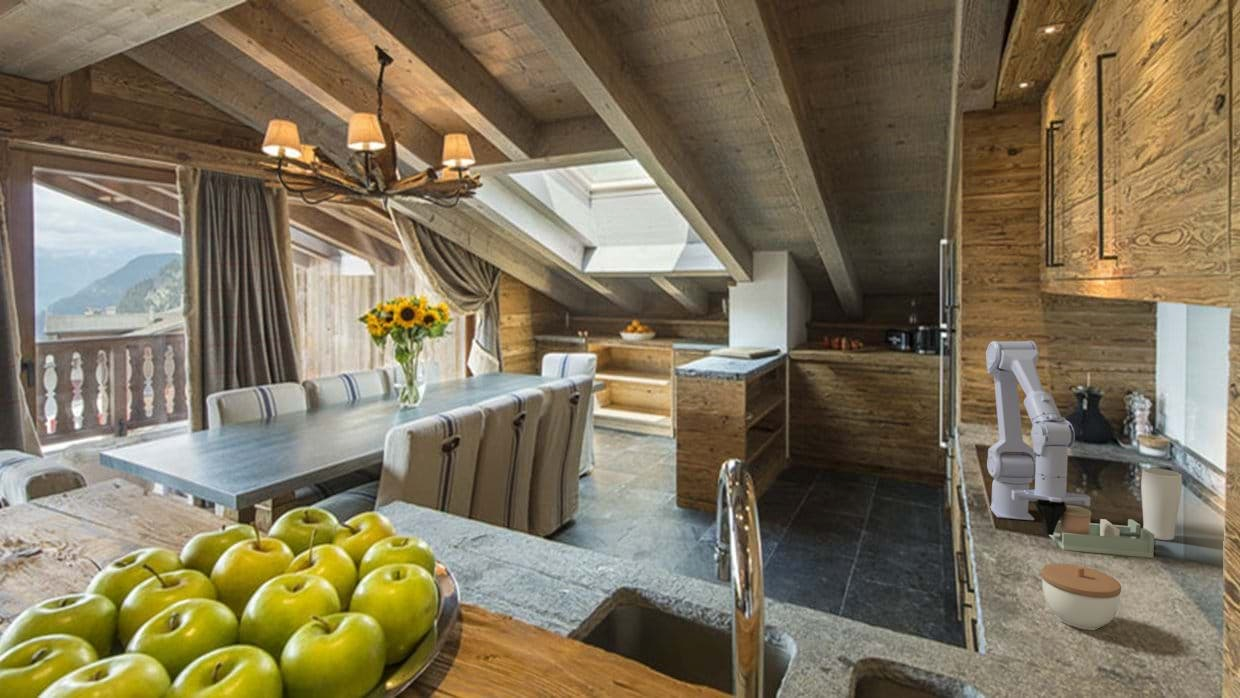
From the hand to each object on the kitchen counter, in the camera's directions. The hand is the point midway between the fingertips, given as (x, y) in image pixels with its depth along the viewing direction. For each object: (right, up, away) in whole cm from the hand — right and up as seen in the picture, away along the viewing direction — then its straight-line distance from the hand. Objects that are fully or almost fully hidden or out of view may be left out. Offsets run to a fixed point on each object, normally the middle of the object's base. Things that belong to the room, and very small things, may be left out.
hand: (1048, 533), depth 135 cm
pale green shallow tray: (+9, -2, -3) cm, 9 cm away
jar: (+5, -1, -2) cm, 5 cm away
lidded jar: (-18, -5, -33) cm, 38 cm away
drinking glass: (+26, -1, +1) cm, 26 cm away
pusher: (+14, -1, -4) cm, 15 cm away
